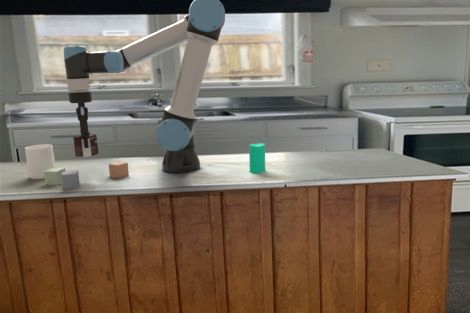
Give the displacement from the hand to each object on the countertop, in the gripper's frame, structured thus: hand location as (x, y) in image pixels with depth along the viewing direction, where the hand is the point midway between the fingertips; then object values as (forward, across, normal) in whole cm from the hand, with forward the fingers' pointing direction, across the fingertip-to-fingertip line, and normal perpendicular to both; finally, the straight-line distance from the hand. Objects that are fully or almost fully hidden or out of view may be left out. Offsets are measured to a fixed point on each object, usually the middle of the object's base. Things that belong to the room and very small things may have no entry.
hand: (87, 154), depth 149 cm
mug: (+9, +14, +16) cm, 23 cm away
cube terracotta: (+10, 0, -10) cm, 14 cm away
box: (+1, 0, 0) cm, 1 cm away
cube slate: (+9, -7, +6) cm, 13 cm away
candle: (+11, -17, -60) cm, 63 cm away
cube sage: (+9, 0, +12) cm, 15 cm away
